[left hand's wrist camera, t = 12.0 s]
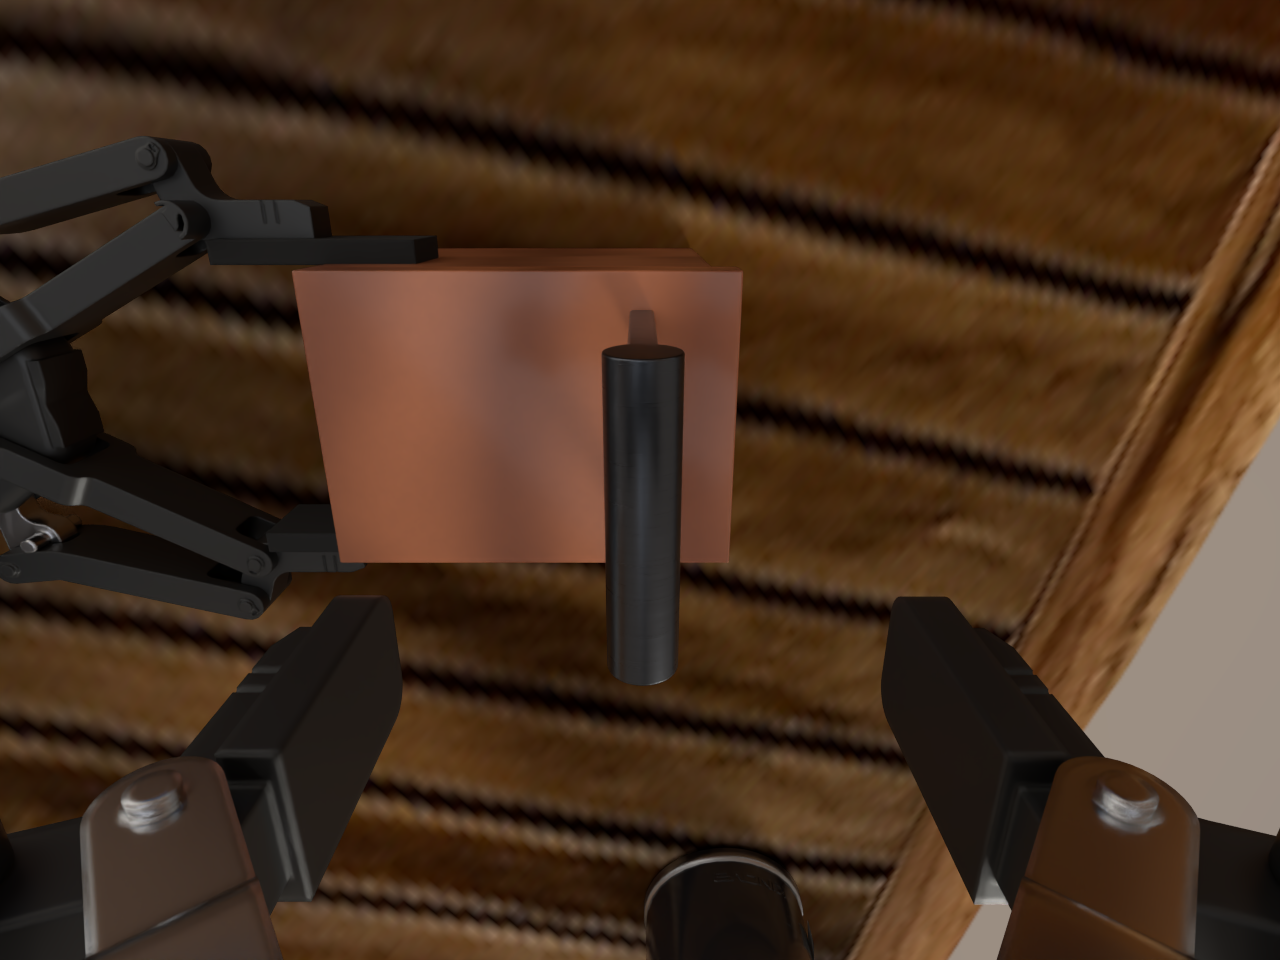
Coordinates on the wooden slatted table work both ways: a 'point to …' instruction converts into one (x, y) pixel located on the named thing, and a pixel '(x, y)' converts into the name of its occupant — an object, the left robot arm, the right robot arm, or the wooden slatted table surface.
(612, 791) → the wooden slatted table surface
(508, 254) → the chest
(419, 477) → the lid
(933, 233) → the wooden slatted table surface
